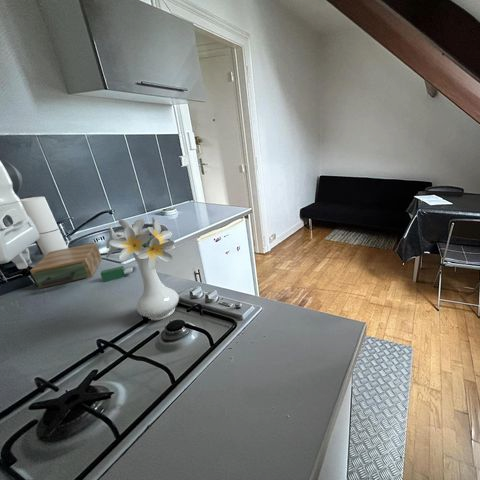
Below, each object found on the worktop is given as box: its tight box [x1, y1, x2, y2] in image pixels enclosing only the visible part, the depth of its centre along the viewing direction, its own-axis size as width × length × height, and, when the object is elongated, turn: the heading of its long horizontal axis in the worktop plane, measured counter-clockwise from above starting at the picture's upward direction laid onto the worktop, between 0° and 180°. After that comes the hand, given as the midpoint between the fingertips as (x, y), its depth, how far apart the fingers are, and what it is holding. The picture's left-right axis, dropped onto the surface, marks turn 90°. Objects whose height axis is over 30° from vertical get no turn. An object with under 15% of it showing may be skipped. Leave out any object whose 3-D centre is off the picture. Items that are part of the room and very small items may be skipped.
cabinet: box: [29, 242, 103, 289], centre depth 92 cm, size 18×14×7 cm
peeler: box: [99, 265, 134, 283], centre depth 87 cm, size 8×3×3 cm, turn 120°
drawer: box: [32, 262, 89, 288], centre depth 89 cm, size 21×12×5 cm, turn 30°
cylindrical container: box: [20, 196, 69, 258], centre depth 99 cm, size 7×7×25 cm
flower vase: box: [105, 217, 180, 321], centre depth 63 cm, size 13×18×25 cm
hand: (25, 266), depth 68 cm, fingers closed
